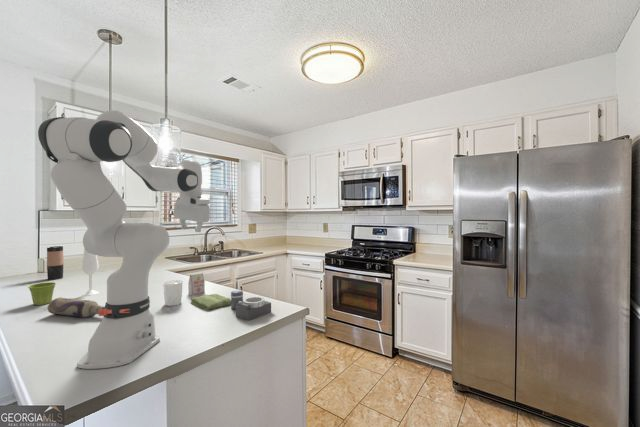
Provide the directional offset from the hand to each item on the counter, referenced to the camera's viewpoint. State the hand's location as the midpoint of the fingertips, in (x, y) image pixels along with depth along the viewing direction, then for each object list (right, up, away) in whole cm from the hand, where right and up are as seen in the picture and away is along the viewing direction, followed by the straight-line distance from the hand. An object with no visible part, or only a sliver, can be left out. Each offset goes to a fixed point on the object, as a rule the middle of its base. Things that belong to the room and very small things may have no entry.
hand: (191, 230), depth 126 cm
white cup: (-11, -34, +7) cm, 37 cm away
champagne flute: (-62, -34, +23) cm, 75 cm away
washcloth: (+6, -35, +7) cm, 36 cm away
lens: (+20, -34, +1) cm, 40 cm away
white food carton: (-8, -34, +24) cm, 42 cm away
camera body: (+29, -34, -6) cm, 45 cm away
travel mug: (-110, -34, +56) cm, 128 cm away
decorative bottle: (-43, -35, -8) cm, 56 cm away
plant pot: (-72, -34, +7) cm, 80 cm away
